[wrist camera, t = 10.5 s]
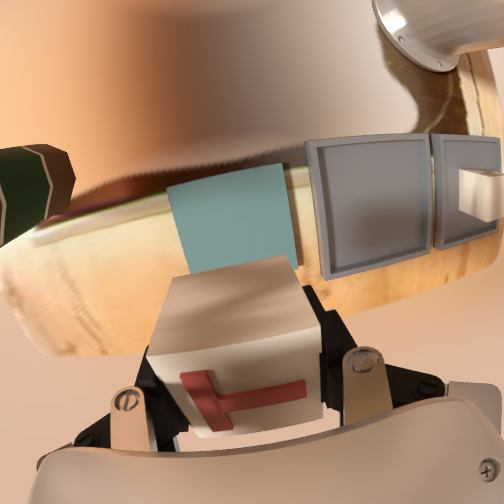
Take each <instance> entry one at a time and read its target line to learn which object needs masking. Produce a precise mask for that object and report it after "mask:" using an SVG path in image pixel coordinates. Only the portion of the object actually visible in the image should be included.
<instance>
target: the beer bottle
mask: <svg viewBox="0 0 504 504" xmlns="http://www.w3.org/2000/svg"><path fill="white" fill-rule="evenodd" d="M75 180H76V177H75V174H74V171H73V168H72V166H71V163H70V160H69V157H68V154H67V152H65V151H62V150H60V149H57V148H55V147H52V146H50V145H48V144H35V145H26V146H19V147H11V148H5V149H0V248H1V247H2V246H4V245H5V244H7V243H9V242H10V241H12V240H13V239H15V238H17V237H18V236H20V235H22V234H23V233H25V232H27V231H28V230H30V229H32V228H34V227H35V226H37V225H39V224H41V223H42V222H44V221H45V220H47V219H49V218H50V217H52V216H53V215H55V214H57V213H58V212H60V211H61V210H63V209H65V208H66V207H68V206H69V203H70V199H71V195H72V191H73V187H74V183H75Z"/></svg>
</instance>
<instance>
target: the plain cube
mask: <svg viewBox="0 0 504 504" xmlns="http://www.w3.org/2000/svg"><path fill="white" fill-rule="evenodd" d="M459 210H460V211H462V212H465V213H467V214H469V215H472V216H474V217H476V218H478V219H480V220H483V221H485V222H490V221H493V220H497V219H500V218H504V174H503V173H500V172H496V171H493V170H489V169H485V168H468V169H459Z"/></svg>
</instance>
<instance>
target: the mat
mask: <svg viewBox="0 0 504 504" xmlns="http://www.w3.org/2000/svg"><path fill="white" fill-rule="evenodd" d="M166 190H167V193H168V197H169V201H170V205H171V209H172V212H173V216H174V219H175V223H176V227H177V230H178V234H179V237H180V241H181V244H182V247H183V251H184V254H185V257H186V260H187V264H188V267H189V270H190V273H191V274H194V273H199V272H204V271H209V270H213V269H218V268H223V267H228V266H233V265H238V264H242V263H247V262H252V261H257V260H261V259H266V258H271V257H276V256H280V255H285V254H286V256H287V258H288V260H289V262H290V264H291V266H292V268H293V270H295V269H298V263H297V256H296V248H295V241H294V234H293V227H292V221H291V214H290V208H289V201H288V195H287V189H286V183H285V177H284V171H283V166H282V163H281V162H280V163H274V164H268V165H263V166H257V167H252V168H247V169H242V170H237V171H232V172H228V173H223V174H218V175H214V176H210V177H205V178H201V179H197V180H193V181H189V182H185V183H181V184H177V185H173V186H169V187H167V188H166Z"/></svg>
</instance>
